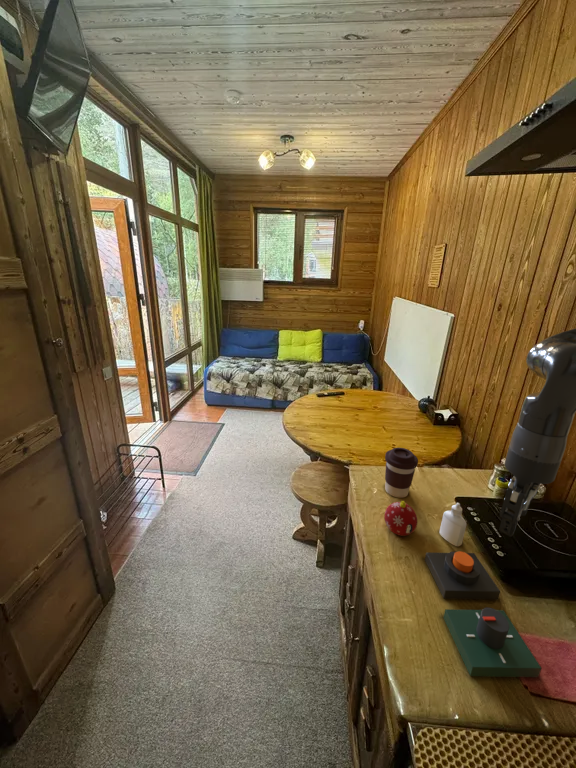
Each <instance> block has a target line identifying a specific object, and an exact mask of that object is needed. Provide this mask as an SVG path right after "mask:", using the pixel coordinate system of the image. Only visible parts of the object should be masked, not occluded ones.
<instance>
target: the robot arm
mask: <svg viewBox="0 0 576 768" xmlns="http://www.w3.org/2000/svg"><path fill="white" fill-rule="evenodd" d="M525 360H526V361H525V362H526V366H527V368H528V370H529V371H530V372H531V373H532V374H534V375H535V376H537V377H539V378H541V379H543V380H545V383H544V385H543V387H542V389H541V390H540V391H539V392H538V391H537V392H532V393H530V394H528V395H527V396H526V397H525V398H524V399H523V402H522V405H521V410H520V412H519V416H518V420H517V423H516V426H515V427H514V430H513V432H512V435H511V438H510V441H509V446H508V448H507V453H506V457H505V460H504V467H505V469H506V470H507V471H508V472H509V473H510V474H511V475H513V478H510V480H509V482H508V488H507V489H506V492H505V497H504V499H503V503H502V506H501V509H500V511H499V518H501V521H500V525H499V527H498V530H499V532H500V533H502V534H504V535H506V536H507V537H511V538H512V537H513V536H514V535H515V531H516V528H517V525H518V522H519V521H520V520H521V518H520V517H521V516H522V517H525V516H526V515H527V513H528V509H529V507H530V504H531V501H532V500H533V499H534V498H536V495H537V493H538V492H539V489H540V487H541V485H549V484H552V483H553V482H555V480H556V477H557V474H558V471H559V468H560V466H561V463H562V460H563V457H564V454H565V450H566V448H567V442H568V436H569V433H570V431H571V428H572V425H573V421H574V418H575V414H576V328H572V329H568V330H565V331H562V332H559V333H556V334H553V335H550V336H548V337H546V338H544V339H542V340H541V341H539V342H538V343H536V344H534V346H532V347H531V349H530V350H529V351H528V352H527V355H526V359H525ZM510 510H511V511H510Z"/></svg>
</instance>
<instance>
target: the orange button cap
mask: <svg viewBox="0 0 576 768" xmlns="http://www.w3.org/2000/svg"><path fill="white" fill-rule="evenodd" d="M454 552H455V553H454V557H453V565H454V567H455V568H457V569H458V570H459V571H462V572H464V573H470V572H471V571H472V568H473V565H474V561H473V559H472V557H471V556H469V555H468V554H466V553H467V552H465V551H454Z"/></svg>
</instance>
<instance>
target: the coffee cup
mask: <svg viewBox="0 0 576 768" xmlns="http://www.w3.org/2000/svg"><path fill="white" fill-rule="evenodd" d="M384 455H385V456H384V460H385V462H386V463H385V472H384V473H385V474H384V481H385V483H384V490H385V492H386V493H387V494H388V495H390V496H392V497H394V498H398V499H399V498H400V499H401V498H405V497H408V495H409V492H410V488H411V486H412V482H413V479H414V475H415V471H416V468H417V467H418V464H419V458H418V456H416V455H415V454H414V453H413V452H412V451H411V450H410V449H408V448H405V447H393V448H392V449H389V450H387V451H386V452H385V454H384Z"/></svg>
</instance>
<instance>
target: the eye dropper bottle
mask: <svg viewBox="0 0 576 768" xmlns="http://www.w3.org/2000/svg"><path fill="white" fill-rule="evenodd" d="M462 513H463V508H462V506H461V503H460V502H456V503H455V504H452V505H451V509H449V510H445V511H444V512H443V514H442V519H441V523H440V527H439V532H438V533H439V535H440V536H441V537H442V538H443V539H444V540H445V541H447V543H449V544H451V545H453V546H455V547H460V546H462V544H463V541H464V538H465V537H464V536H465V533H466V529H467V521H466V520H465V519H464V517H463V516H462Z"/></svg>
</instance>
